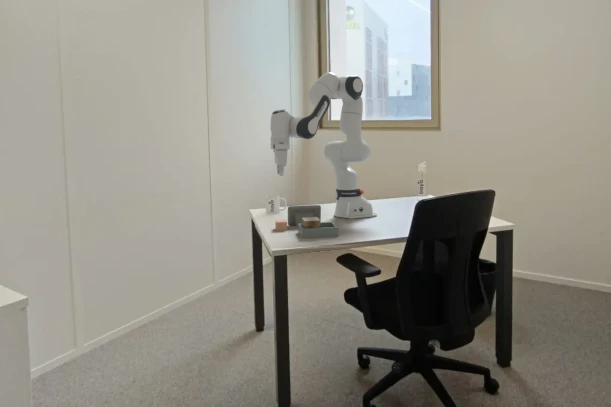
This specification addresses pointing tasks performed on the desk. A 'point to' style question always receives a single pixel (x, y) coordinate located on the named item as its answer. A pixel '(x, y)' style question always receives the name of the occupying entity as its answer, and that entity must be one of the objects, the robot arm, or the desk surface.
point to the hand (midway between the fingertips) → (280, 174)
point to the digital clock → (302, 213)
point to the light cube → (280, 225)
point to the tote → (319, 230)
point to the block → (311, 222)
